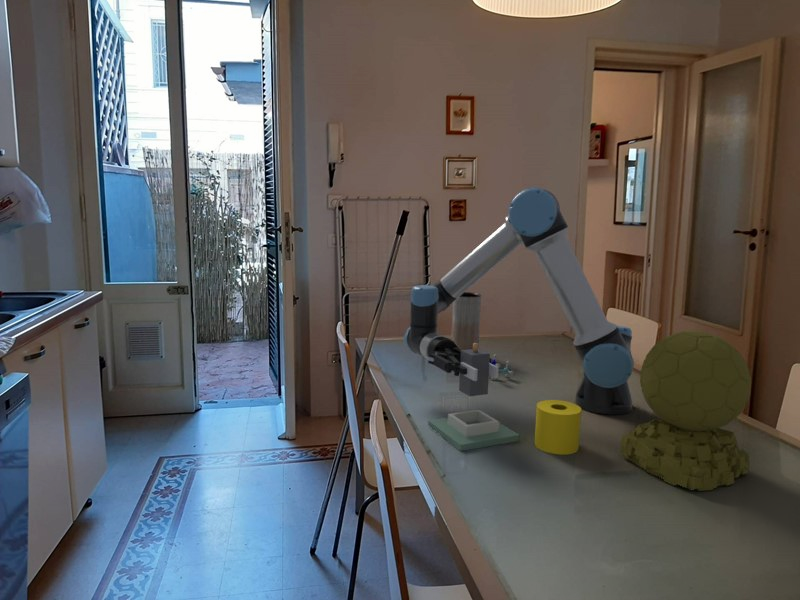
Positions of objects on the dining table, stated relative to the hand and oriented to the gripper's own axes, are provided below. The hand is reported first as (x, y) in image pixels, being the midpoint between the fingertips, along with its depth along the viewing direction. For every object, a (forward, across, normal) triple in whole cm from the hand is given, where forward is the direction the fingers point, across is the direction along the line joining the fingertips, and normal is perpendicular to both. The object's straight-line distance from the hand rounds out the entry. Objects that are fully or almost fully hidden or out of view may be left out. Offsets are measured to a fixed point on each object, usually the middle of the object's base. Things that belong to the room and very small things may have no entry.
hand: (486, 374), depth 140 cm
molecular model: (-42, -31, -17) cm, 55 cm away
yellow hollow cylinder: (+8, -15, -17) cm, 24 cm away
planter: (-70, -36, -17) cm, 80 cm away
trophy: (+27, -34, -16) cm, 47 cm away
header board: (-5, 0, -16) cm, 17 cm away
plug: (-5, 0, -6) cm, 8 cm away
